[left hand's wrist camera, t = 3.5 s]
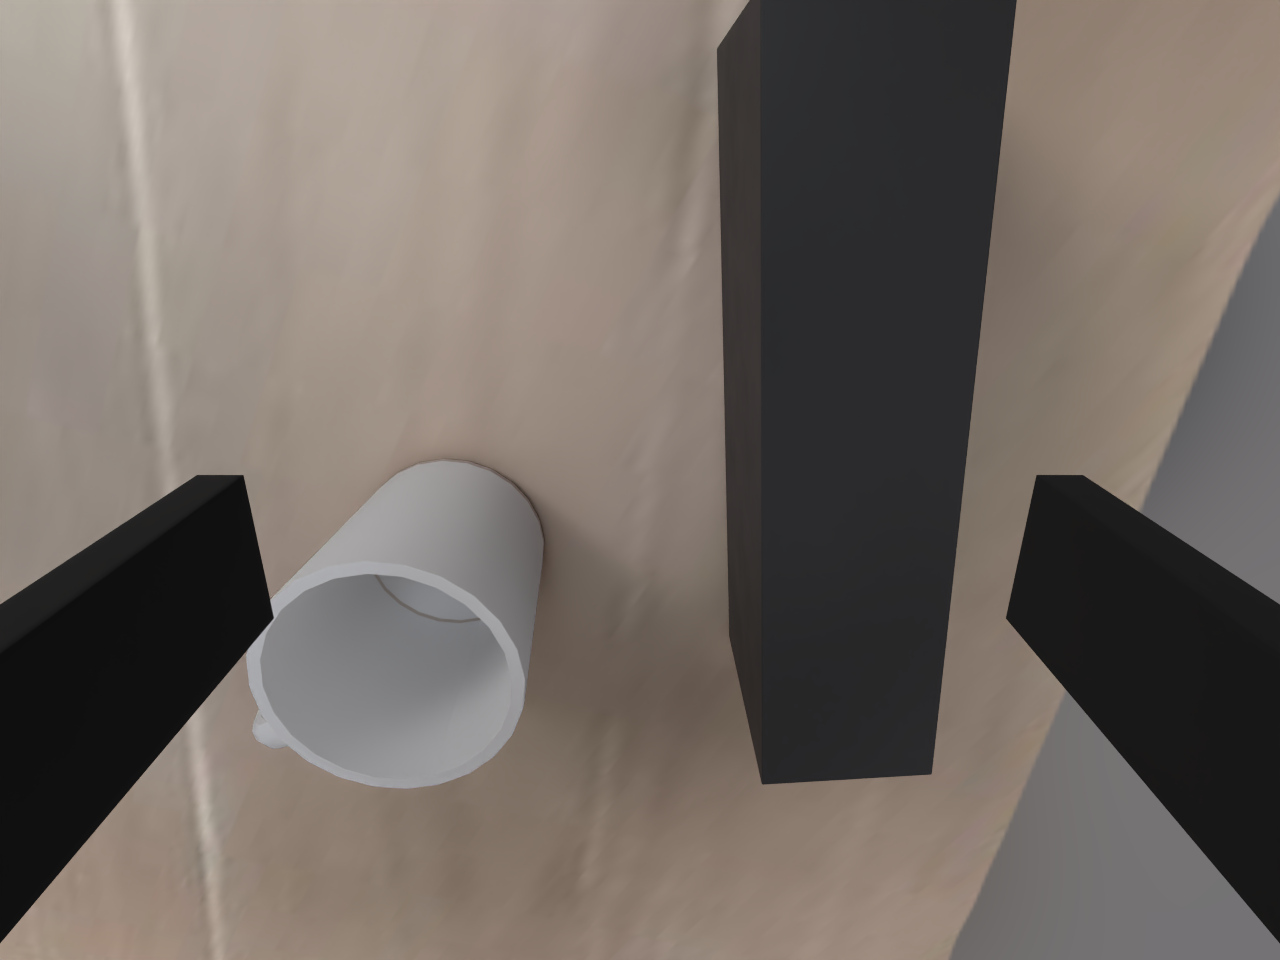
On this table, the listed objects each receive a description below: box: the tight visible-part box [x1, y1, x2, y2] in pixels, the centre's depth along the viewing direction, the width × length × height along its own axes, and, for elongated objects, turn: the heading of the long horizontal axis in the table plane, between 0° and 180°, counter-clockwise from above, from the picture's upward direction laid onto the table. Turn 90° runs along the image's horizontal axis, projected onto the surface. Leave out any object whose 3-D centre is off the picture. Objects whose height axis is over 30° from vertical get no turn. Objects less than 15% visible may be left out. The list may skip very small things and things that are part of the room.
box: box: [717, 0, 1016, 784], centre depth 27 cm, size 25×6×10 cm, turn 4°
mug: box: [246, 459, 544, 789], centre depth 29 cm, size 11×9×10 cm
